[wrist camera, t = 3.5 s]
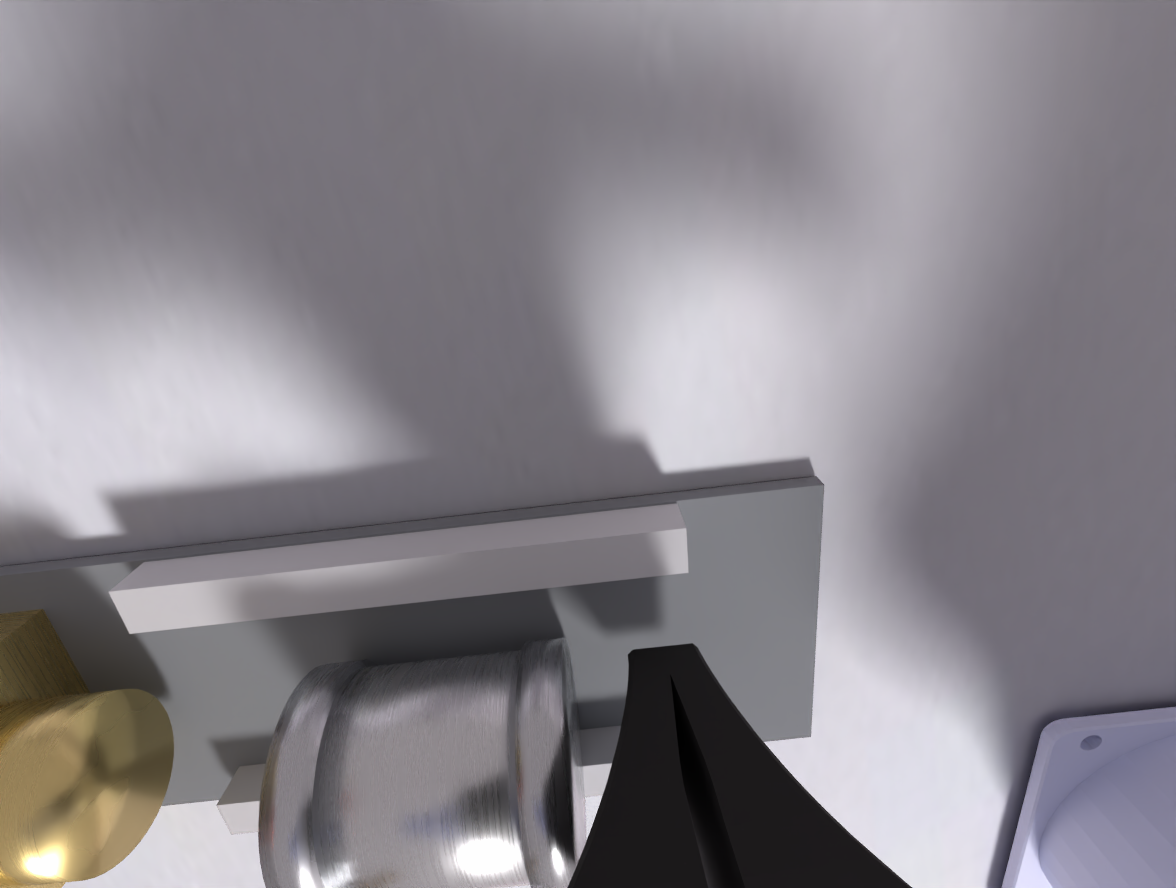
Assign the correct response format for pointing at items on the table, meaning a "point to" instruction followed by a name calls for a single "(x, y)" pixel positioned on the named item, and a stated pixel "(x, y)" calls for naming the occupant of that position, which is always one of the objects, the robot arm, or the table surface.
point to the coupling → (427, 775)
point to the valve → (71, 762)
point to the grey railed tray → (446, 614)
